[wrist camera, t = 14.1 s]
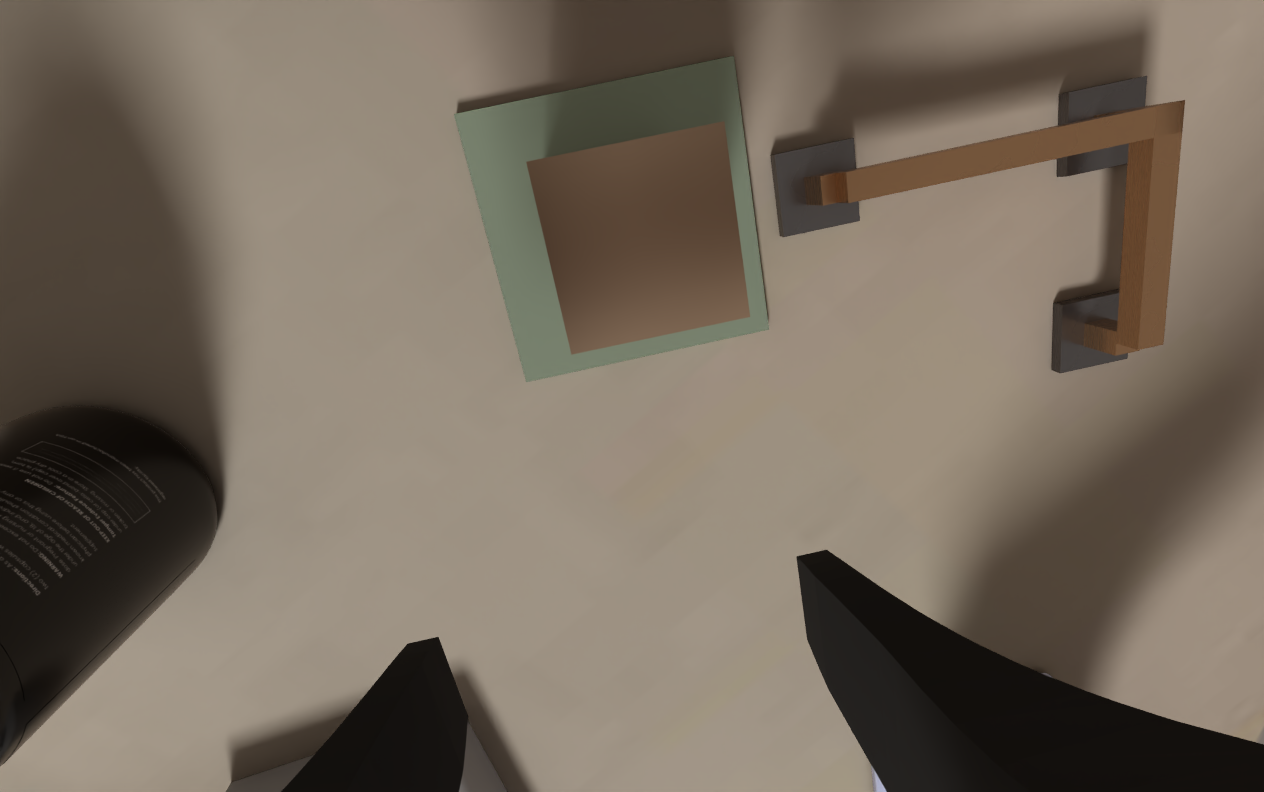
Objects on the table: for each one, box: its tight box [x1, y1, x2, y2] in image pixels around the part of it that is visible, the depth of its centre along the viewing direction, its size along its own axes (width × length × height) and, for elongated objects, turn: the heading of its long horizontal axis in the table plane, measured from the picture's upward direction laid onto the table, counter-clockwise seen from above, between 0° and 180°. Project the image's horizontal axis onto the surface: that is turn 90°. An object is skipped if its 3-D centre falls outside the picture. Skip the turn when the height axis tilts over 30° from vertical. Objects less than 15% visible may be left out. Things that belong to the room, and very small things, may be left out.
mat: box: [454, 56, 769, 382], centre depth 19 cm, size 8×8×1 cm
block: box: [526, 121, 750, 355], centre depth 16 cm, size 4×4×6 cm
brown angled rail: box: [771, 76, 1185, 373], centre depth 19 cm, size 9×11×2 cm
